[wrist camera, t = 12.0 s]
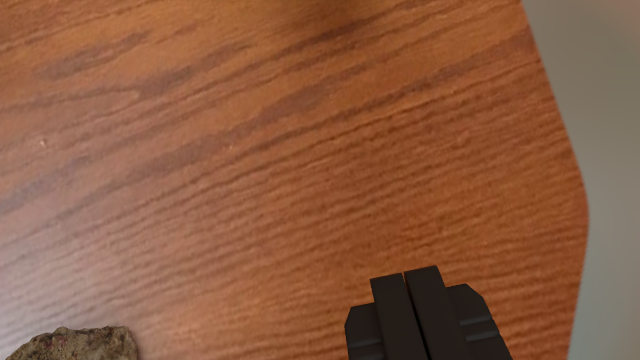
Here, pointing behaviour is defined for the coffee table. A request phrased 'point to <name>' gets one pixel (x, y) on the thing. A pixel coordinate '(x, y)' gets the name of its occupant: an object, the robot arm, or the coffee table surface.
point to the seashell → (80, 345)
